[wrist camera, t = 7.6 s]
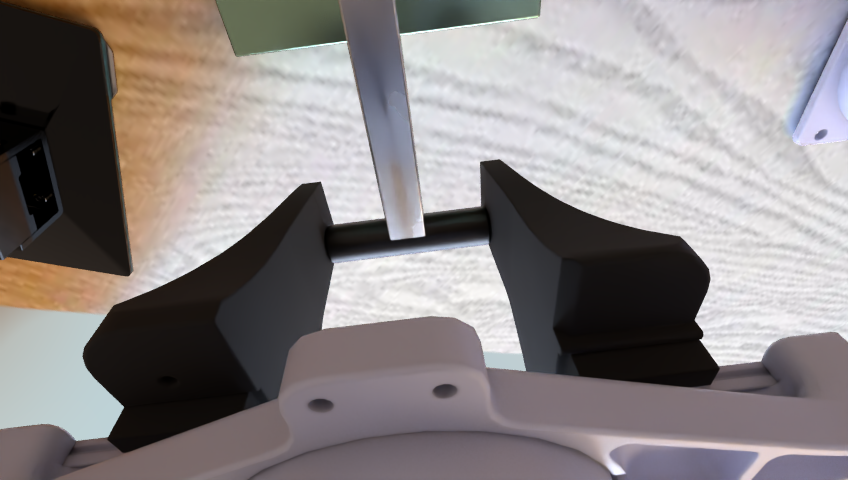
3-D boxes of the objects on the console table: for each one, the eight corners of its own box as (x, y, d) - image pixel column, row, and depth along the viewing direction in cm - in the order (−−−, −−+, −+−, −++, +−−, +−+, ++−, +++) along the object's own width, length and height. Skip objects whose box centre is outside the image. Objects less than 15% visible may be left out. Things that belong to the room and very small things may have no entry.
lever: (481, 214, 14) (494, 266, 13) (337, 232, 14) (331, 286, 13) (479, -361, 6) (517, -436, 5) (154, -314, 6) (68, -370, 5)
